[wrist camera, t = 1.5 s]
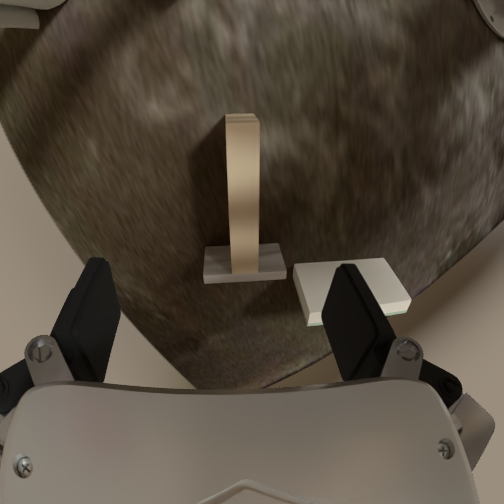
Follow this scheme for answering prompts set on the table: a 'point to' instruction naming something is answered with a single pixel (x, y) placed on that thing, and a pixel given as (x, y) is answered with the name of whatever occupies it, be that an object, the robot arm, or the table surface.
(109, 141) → the table surface
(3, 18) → the paper towel roll
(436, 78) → the table surface
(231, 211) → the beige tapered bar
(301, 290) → the tile
